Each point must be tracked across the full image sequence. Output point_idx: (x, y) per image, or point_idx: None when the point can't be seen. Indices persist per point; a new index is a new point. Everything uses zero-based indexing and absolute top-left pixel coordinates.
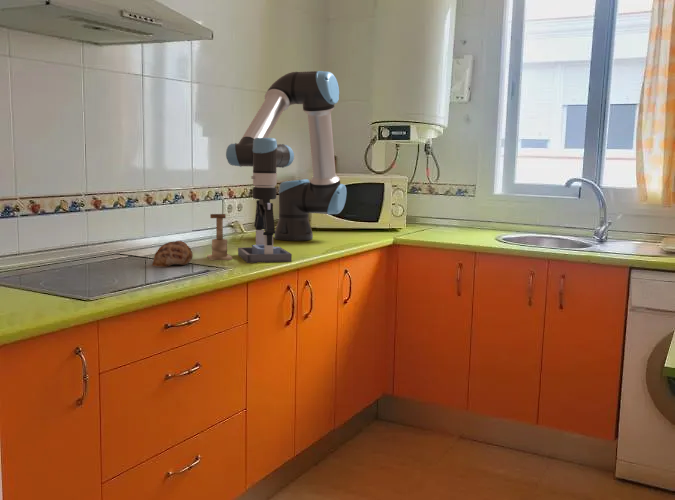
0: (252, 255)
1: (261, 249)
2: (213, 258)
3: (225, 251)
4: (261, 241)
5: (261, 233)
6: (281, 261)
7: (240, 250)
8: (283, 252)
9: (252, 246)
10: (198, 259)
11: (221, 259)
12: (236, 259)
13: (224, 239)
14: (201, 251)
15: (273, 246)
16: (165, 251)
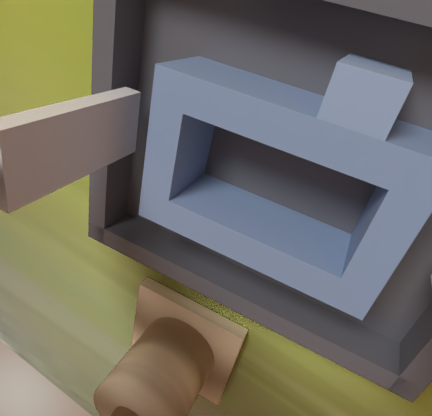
0: (430, 377)
1: (377, 294)
2: (222, 393)
3: (198, 367)
4: (95, 129)
5: (35, 151)
6: None
7: (162, 269)
8: (392, 17)
9: (161, 219)
10: None
11: (233, 366)
12: None
13: (125, 398)
14: (5, 269)
15: (287, 110)
16: None
